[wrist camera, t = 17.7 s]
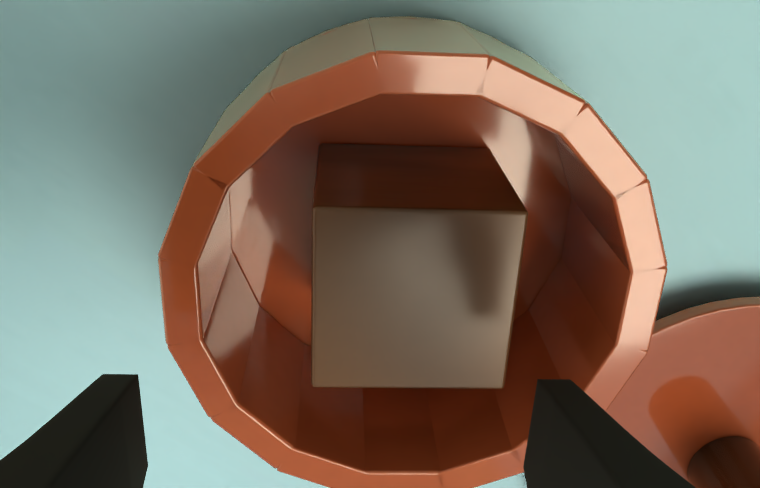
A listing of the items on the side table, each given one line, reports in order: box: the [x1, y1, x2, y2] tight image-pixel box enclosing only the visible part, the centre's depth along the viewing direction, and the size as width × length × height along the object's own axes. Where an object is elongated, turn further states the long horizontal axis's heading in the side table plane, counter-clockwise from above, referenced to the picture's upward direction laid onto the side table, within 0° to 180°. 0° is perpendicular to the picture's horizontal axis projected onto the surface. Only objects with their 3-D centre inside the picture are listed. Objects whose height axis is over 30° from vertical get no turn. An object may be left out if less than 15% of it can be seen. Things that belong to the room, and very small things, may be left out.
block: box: [311, 143, 528, 389], centre depth 17 cm, size 4×4×4 cm
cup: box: [158, 16, 667, 488], centre depth 18 cm, size 11×11×5 cm
